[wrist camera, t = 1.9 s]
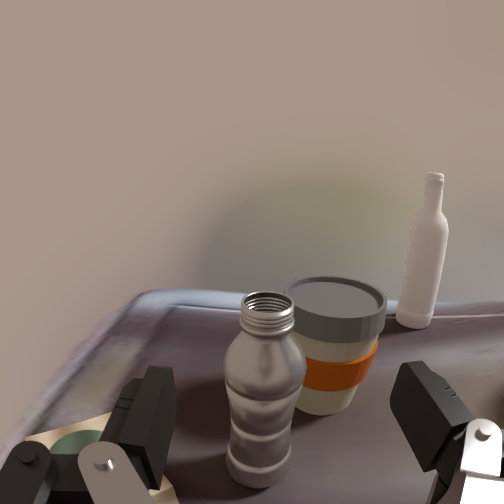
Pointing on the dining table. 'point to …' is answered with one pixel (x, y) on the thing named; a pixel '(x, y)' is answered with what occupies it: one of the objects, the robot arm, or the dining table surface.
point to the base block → (88, 433)
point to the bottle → (424, 258)
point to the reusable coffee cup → (335, 337)
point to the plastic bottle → (263, 389)
